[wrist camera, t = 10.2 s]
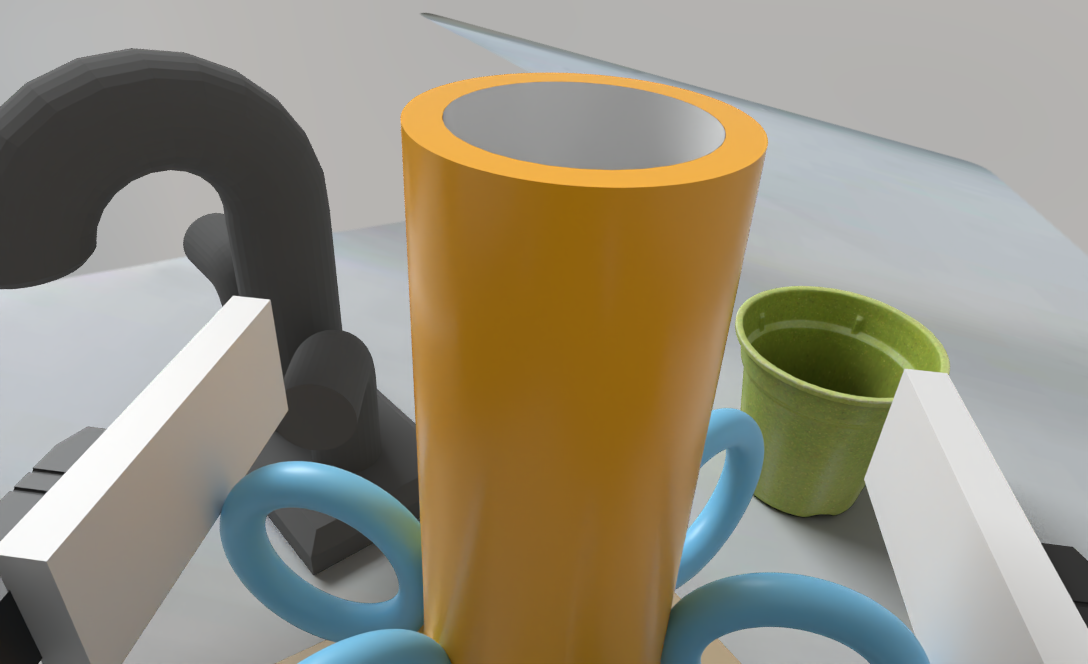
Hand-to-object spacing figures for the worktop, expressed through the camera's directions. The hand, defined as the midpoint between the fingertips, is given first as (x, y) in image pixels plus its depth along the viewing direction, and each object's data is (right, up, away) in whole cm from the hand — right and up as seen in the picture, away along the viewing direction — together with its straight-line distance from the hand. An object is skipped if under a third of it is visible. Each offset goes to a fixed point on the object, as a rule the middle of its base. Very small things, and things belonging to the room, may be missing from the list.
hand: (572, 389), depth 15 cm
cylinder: (-1, -9, +2) cm, 9 cm away
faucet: (-16, -6, +24) cm, 29 cm away
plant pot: (+12, -7, +25) cm, 28 cm away
